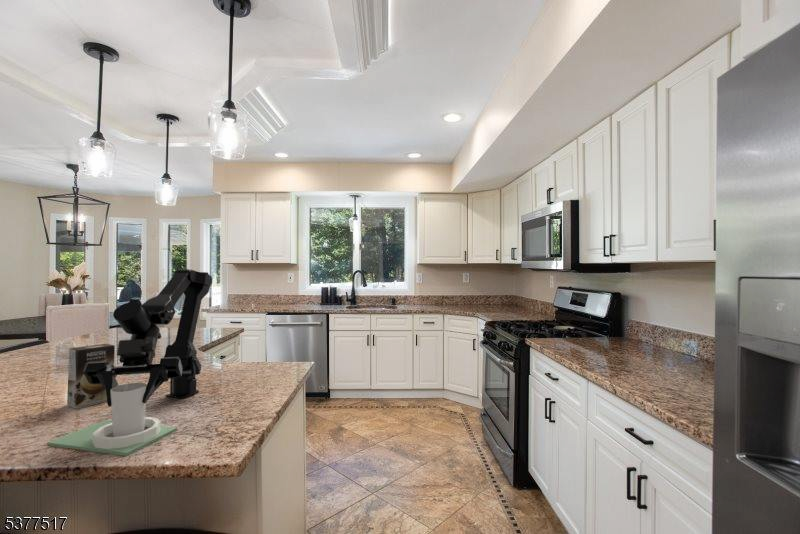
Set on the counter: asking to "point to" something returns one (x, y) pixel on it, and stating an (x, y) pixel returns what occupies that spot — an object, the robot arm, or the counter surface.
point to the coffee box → (78, 384)
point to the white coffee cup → (128, 409)
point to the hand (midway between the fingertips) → (126, 404)
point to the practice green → (113, 438)
